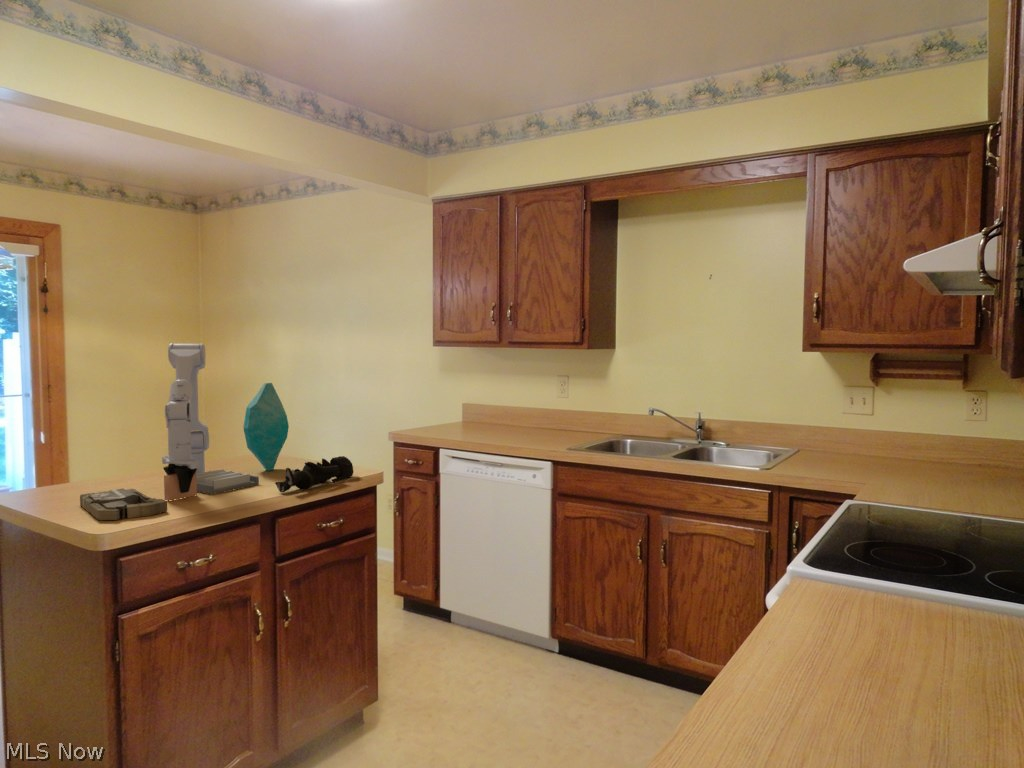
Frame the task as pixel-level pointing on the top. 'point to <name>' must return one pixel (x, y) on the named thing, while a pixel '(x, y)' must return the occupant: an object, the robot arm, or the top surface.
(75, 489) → the top surface
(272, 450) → the crystal
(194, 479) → the tile
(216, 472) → the rack
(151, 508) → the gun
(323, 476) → the figurine
